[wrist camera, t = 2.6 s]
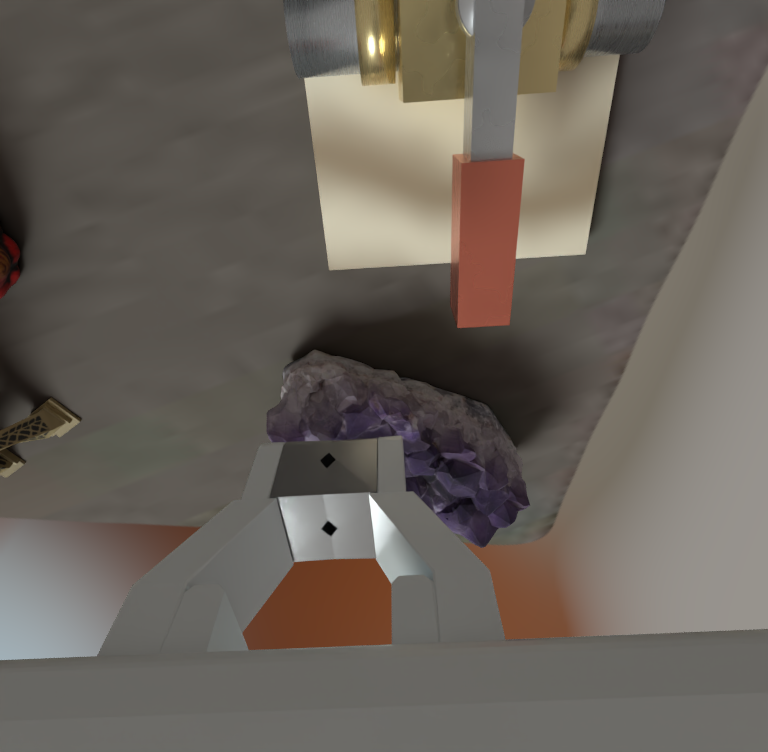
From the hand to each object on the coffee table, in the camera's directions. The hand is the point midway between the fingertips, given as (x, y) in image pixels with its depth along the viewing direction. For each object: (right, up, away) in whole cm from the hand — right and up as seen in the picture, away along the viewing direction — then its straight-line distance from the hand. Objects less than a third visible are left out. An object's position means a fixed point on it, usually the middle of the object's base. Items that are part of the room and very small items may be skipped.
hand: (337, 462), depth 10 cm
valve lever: (+5, +11, +10) cm, 16 cm away
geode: (+2, -1, +28) cm, 28 cm away
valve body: (+5, +20, +14) cm, 25 cm away
